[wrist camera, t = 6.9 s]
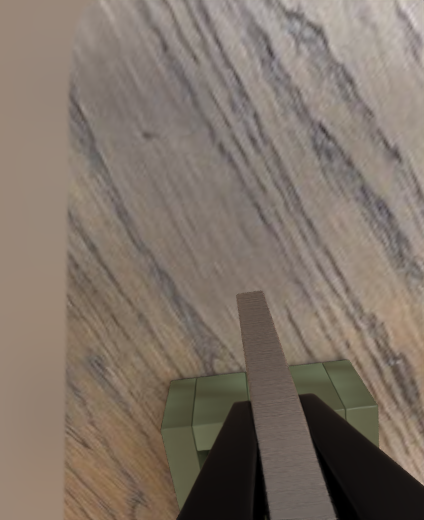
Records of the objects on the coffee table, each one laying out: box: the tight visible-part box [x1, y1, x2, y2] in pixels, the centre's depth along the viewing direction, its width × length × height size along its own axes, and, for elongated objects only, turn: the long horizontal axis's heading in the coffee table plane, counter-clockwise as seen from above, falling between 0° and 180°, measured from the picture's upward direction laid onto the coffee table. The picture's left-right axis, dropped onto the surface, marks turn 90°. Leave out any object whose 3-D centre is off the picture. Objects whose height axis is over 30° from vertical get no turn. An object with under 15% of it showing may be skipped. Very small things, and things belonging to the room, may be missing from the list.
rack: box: [161, 360, 379, 511], centre depth 18 cm, size 9×13×4 cm
